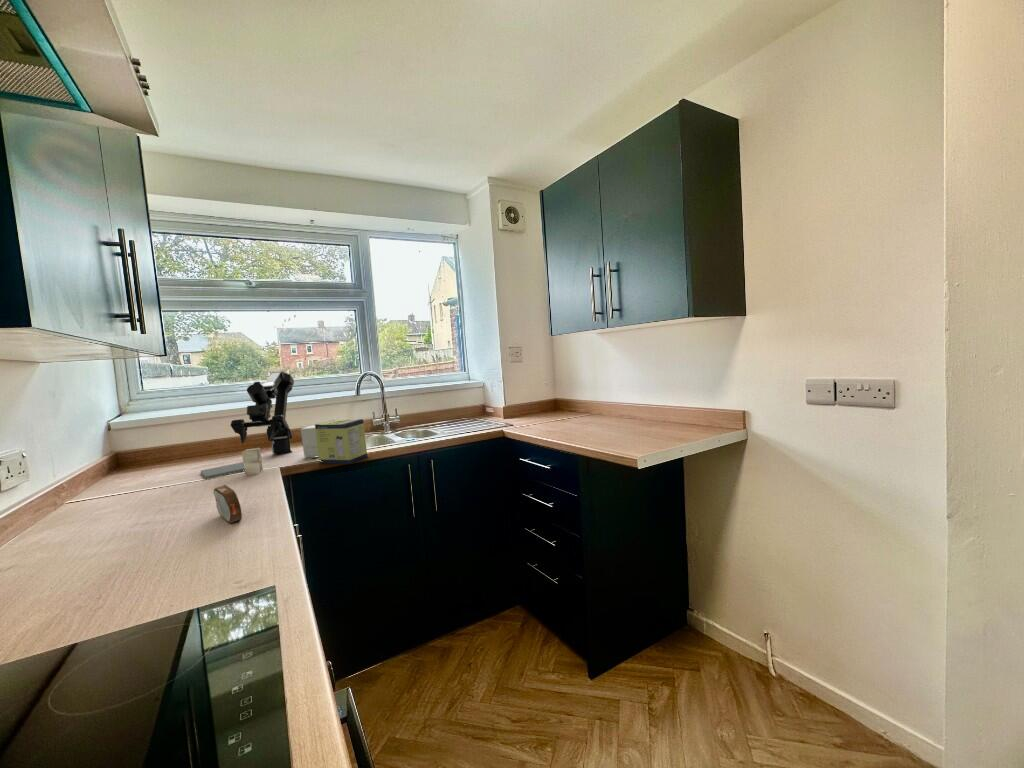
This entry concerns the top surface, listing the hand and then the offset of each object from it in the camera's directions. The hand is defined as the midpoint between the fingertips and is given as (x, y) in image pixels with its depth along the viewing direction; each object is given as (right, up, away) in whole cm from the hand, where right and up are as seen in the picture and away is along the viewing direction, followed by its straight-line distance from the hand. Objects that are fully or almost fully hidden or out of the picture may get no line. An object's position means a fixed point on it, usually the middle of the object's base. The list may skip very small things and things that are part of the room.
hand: (255, 441), depth 165 cm
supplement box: (+15, -9, +18) cm, 25 cm away
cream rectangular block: (+2, -11, -4) cm, 12 cm away
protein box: (+32, -8, +6) cm, 33 cm away
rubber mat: (-13, -12, +2) cm, 18 cm away
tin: (+24, -14, -52) cm, 58 cm away
